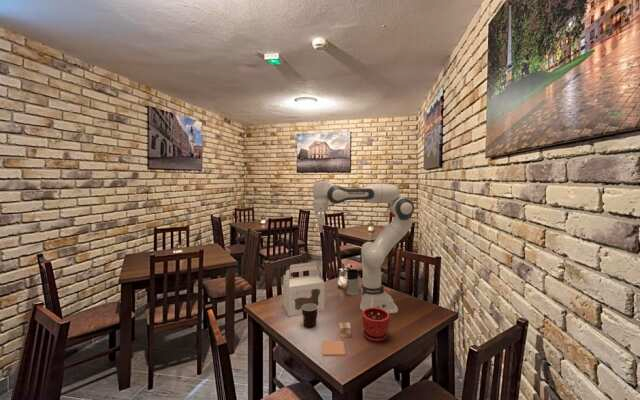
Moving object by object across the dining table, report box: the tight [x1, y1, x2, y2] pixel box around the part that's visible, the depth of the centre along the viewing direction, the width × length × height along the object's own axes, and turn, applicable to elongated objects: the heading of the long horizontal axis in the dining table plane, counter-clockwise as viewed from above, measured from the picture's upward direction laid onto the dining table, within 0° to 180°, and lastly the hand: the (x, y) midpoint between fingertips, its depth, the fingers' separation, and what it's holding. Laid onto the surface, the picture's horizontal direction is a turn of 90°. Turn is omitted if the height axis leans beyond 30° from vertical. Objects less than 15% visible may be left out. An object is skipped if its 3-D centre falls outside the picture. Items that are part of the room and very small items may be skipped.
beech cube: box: [339, 322, 352, 339], centre depth 142 cm, size 5×5×5 cm
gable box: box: [282, 261, 325, 317], centre depth 170 cm, size 22×13×28 cm, turn 110°
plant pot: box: [361, 308, 390, 342], centre depth 140 cm, size 13×13×12 cm
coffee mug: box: [301, 304, 318, 329], centre depth 150 cm, size 12×9×10 cm
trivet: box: [321, 340, 346, 357], centre depth 131 cm, size 10×10×1 cm
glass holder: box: [338, 268, 360, 296], centre depth 195 cm, size 9×14×15 cm, turn 91°
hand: (320, 230), depth 167 cm, fingers open, 8 cm apart
